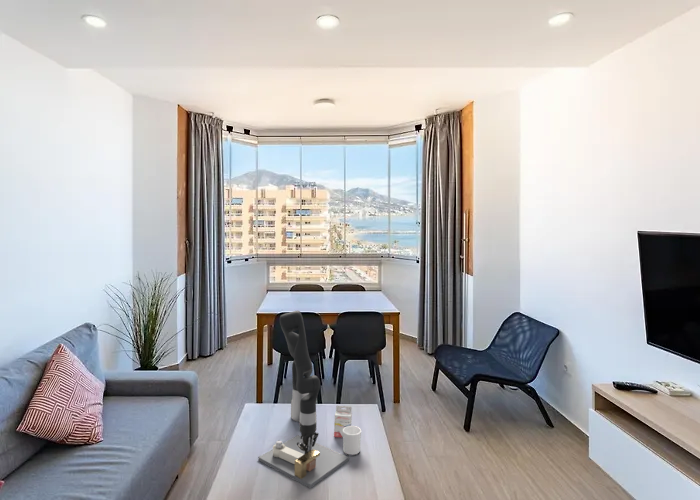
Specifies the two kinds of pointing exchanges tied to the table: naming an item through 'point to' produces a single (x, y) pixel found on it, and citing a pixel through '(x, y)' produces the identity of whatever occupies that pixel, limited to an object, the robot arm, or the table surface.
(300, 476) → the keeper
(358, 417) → the table surface
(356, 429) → the mug
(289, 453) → the latch bar
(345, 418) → the ink cartridge box
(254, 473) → the table surface
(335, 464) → the base plate
